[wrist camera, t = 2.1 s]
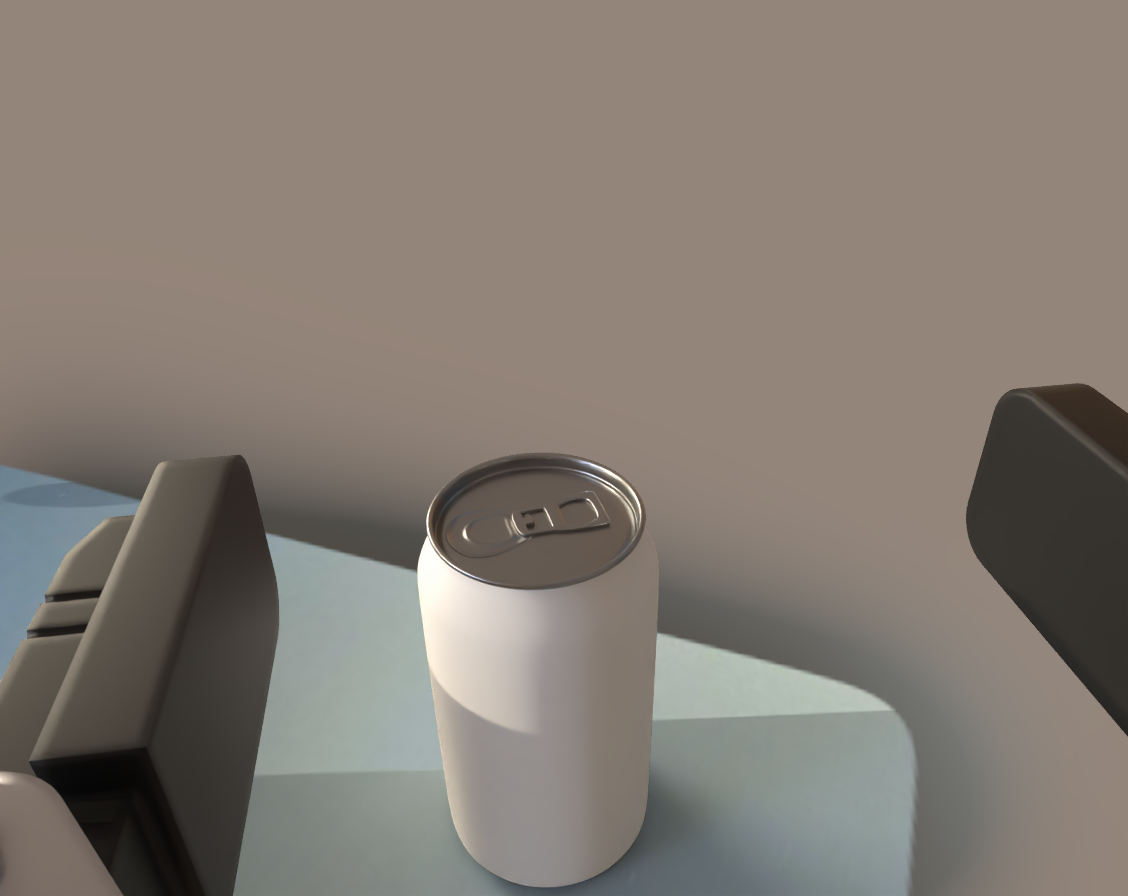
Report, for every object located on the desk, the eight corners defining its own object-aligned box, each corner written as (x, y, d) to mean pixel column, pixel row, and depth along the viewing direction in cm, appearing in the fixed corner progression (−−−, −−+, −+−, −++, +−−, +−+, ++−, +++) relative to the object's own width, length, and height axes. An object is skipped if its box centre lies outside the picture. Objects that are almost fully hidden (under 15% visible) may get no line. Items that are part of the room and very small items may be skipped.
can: (435, 748, 31) (392, 466, 25) (609, 704, 33) (613, 427, 26) (473, 923, 26) (432, 625, 19) (678, 861, 28) (704, 565, 21)
